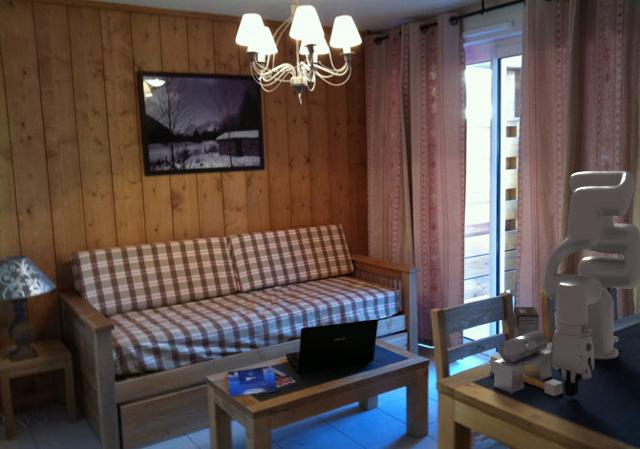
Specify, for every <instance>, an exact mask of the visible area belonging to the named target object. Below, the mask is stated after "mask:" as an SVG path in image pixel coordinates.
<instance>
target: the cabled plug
mask: <svg viewBox="0 0 640 449" xmlns="http://www.w3.org/2000/svg"><path fill="white" fill-rule="evenodd" d="M489 356H490V360H489V361H488V362H489V364H490V365H489V366H490V369H489V370H490V372H491V373H492V374H494V361H496V360H499V359H501V356H500V354H499V352H498V353H495V354H493V355H489ZM524 383H526V384H529V385H532V386H534V387H537V388H539V389H542V390H544V393H545V394H547V395H550V396H553V397H556V396H559V395H561V394H563V381H559V380H557V379H554V378H552V379H549V380H547V381H539V380H536V379H534V378H531V377H528V376H526V375H524Z"/></svg>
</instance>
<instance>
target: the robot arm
mask: <svg viewBox="0 0 640 449" xmlns="http://www.w3.org/2000/svg"><path fill="white" fill-rule="evenodd" d="M634 177H635V176H634V174H633V173H632V172H630V171H628V170H585V171H578V172H574V173H573V174H571V176H570V177H569V181H568V183H569V189H570V191H571V193H572V194H571V197H570V204H569V205H570V206H569V215H568V221H567V222H568V223H567V230H566V231H567V232H566V237H565V238H564V240H563V241H561V242H560V243H559V244H558V245H557V246H556V247H555V248H554V250H552V251H551V254H550V255H549V257H548V259H547V261H546V265H545V274H544V282H543V291H544V294H545V297H546V298H548V299H549V300H552V301H556V302H555V304H556V305H555V307H556V308H555V309H556V310H555V311H556V314H555V315H556V318H555V326H556V327H555V330H554V333H553V336H552V340H551V349H550V352H551V368H553V369H555V370H556V371H557V372H559V373H560V375H561V376H562V377H561V378H562V381H564V383H563V384H564V386H563V387H564V395H565V396H568V397H570V398H572V397H574V396H576V395H578V393H579V382H580V381H581V380H590V379H593V377H592V372H593V371H595V360H612V359H615V358H618V356H619V350H618V349H617V348H616V347H614V344H615V343H617V342H619V340H620V339H619V336H616V335H614V325H615V324H614V320H615V319H614V318H615V317H614V312H615V311H614V310H615V302H614V299H613V296H612V294H611V293H610V292H609V290H608V289H607V288H611V289H612V288H613V289H627V290H632V289H636V288H637V287H638V286H639V285H640V230H639V228H638V227H637V226H636V225H635V224H631V223H625V222H624V223H623V222H622V223H617V222H614V221H613V220H614V218H613V217H622V216H623V217H624V215H626V213H627V212H628V210H629V208H630V205H631V202H632V199H633V196H634V192H635V187H636V181H635V178H634ZM584 250H586V251H587V252H589V253H595V254H608V255H609V254H610V255H620V256H621V257H614V256H603V255H591V256H585V257H582V258H581V259H580V261H579V262H578V264H577V273H578V274H569V273H568V274H567V273H558V270H559V267H560V265H561V263H562V262H563V261H564V260H565V259H566V258H567V257H569V256H571V255H573V254H574V253H578V252H581V251H584Z"/></svg>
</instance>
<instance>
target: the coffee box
mask: <svg viewBox="0 0 640 449" xmlns="http://www.w3.org/2000/svg"><path fill="white" fill-rule="evenodd" d="M513 310H514V311H513V318H514V320H513V322H514V323H513V325H514V327H513V331H514V337H513V338H515V337H518V336H521V335H524V334H527V333H530V332H533V331H539V313H538V311H537V309H536V307H535V306H514V307H513Z"/></svg>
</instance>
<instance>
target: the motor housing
mask: <svg viewBox="0 0 640 449" xmlns="http://www.w3.org/2000/svg"><path fill="white" fill-rule="evenodd" d="M547 347H548V340H547V337H546V335H544V334H543V333H542V331H539V330H538V331H533V332H530V333H527V334H524V335H521V336H518V337H515V338H514V337H513V338H510V339H507V340H504V341H502V342H500V343H499V346H498V353H499V354H500V356H501V359H499V360H496V361H494V373H493V377H494V378H493V379H494V380H493V382H494V384H493V386H494V387H495V388H497V389H500V390H503V391H505V392H507V393H510V394H513V393H516V392H518V391H520V390H523V389H525V382H524V375H526V376H528V377H531V378H534V379H536V380H539V381H541V382H543V381H544V380H546V379H549V378H551V377H552V362H551V350H550V351H549V350H547Z"/></svg>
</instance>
